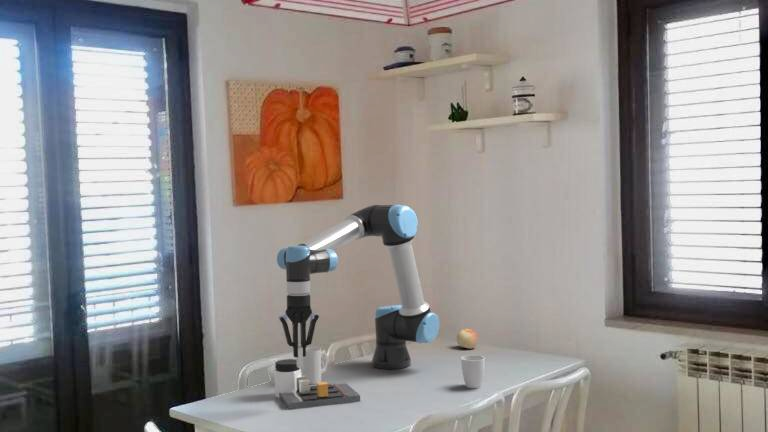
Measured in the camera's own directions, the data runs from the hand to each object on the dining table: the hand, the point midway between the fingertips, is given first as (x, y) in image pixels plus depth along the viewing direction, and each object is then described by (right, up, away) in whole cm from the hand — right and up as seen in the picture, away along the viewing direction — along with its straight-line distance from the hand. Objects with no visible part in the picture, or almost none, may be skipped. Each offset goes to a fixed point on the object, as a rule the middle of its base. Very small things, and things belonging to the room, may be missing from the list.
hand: (299, 366), depth 262 cm
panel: (+5, -12, +9) cm, 16 cm away
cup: (+58, -11, +20) cm, 62 cm away
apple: (+62, -8, +82) cm, 103 cm away
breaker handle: (+7, -10, +3) cm, 12 cm away
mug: (+3, -11, +32) cm, 34 cm away
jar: (-5, -13, +14) cm, 19 cm away
